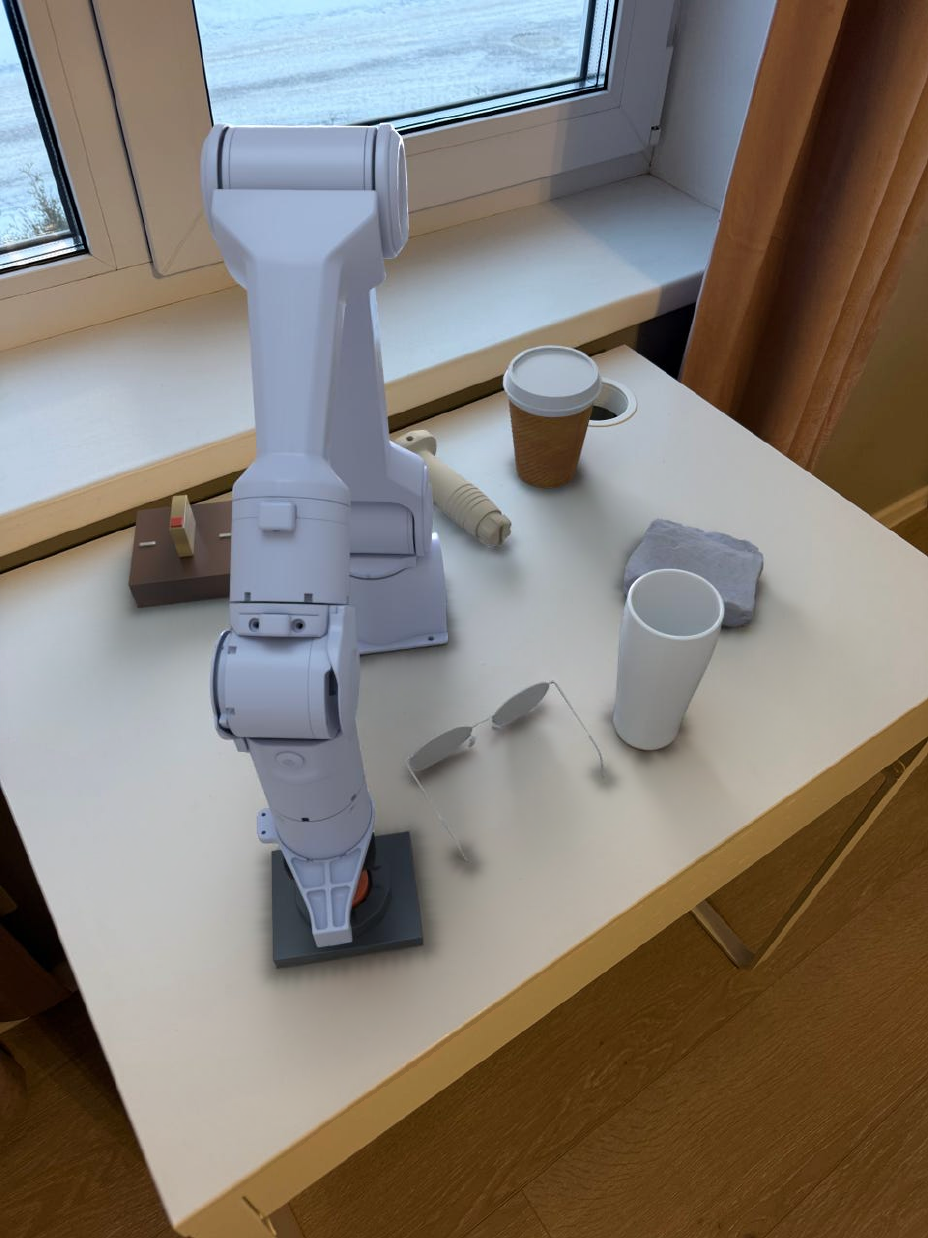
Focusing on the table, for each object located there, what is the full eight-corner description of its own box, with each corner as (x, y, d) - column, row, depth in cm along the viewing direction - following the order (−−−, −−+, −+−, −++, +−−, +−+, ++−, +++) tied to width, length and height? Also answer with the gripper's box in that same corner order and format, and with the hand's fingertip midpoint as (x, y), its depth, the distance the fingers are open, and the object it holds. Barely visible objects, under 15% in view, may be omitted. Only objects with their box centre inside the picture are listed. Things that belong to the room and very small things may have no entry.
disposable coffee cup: (490, 448, 96) (492, 350, 87) (575, 434, 98) (585, 336, 89) (514, 506, 90) (518, 406, 81) (604, 490, 92) (617, 391, 83)
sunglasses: (546, 701, 74) (556, 671, 70) (606, 782, 71) (621, 756, 67) (401, 779, 70) (403, 753, 65) (458, 871, 66) (464, 849, 62)
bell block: (410, 839, 66) (408, 820, 64) (423, 945, 61) (421, 928, 59) (274, 859, 65) (267, 840, 63) (276, 968, 60) (268, 952, 58)
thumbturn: (181, 524, 85) (171, 494, 82) (195, 522, 85) (186, 492, 82) (178, 557, 82) (168, 527, 79) (193, 555, 82) (183, 525, 79)
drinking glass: (634, 774, 70) (664, 654, 58) (587, 711, 74) (607, 587, 62) (704, 740, 72) (747, 617, 60) (654, 680, 76) (686, 554, 64)
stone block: (639, 547, 89) (614, 601, 81) (650, 505, 86) (625, 558, 78) (758, 582, 86) (744, 642, 78) (774, 541, 83) (761, 599, 75)
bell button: (367, 864, 63) (365, 852, 62) (372, 912, 61) (369, 902, 60) (316, 871, 63) (313, 860, 62) (319, 920, 61) (316, 910, 59)
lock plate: (248, 521, 89) (242, 497, 87) (248, 594, 83) (241, 570, 80) (146, 533, 88) (136, 509, 86) (137, 607, 82) (127, 584, 79)
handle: (474, 567, 86) (381, 483, 93) (524, 537, 88) (430, 457, 95) (476, 532, 82) (378, 447, 89) (527, 502, 85) (429, 421, 92)
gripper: (243, 684, 55) (279, 796, 65) (241, 910, 45) (284, 1000, 56) (357, 669, 56) (376, 783, 66) (379, 889, 46) (397, 981, 56)
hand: (341, 881), depth 61 cm, fingers closed, pressing on bell button
